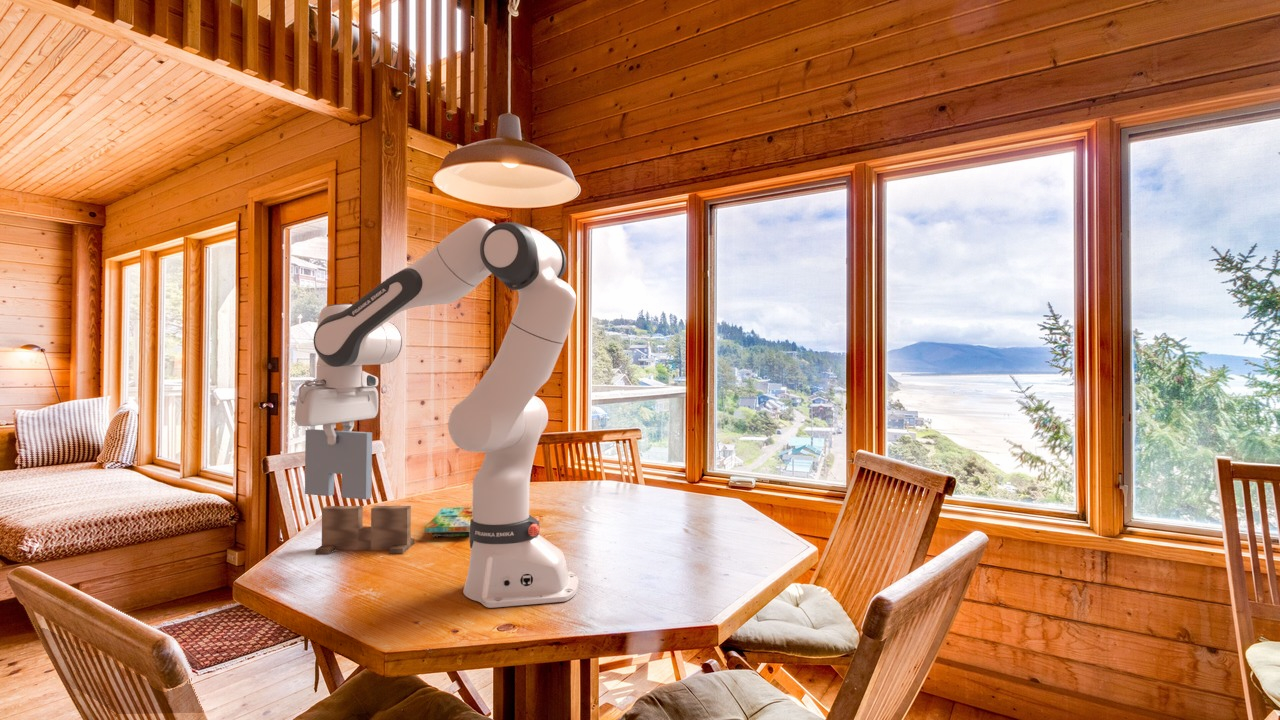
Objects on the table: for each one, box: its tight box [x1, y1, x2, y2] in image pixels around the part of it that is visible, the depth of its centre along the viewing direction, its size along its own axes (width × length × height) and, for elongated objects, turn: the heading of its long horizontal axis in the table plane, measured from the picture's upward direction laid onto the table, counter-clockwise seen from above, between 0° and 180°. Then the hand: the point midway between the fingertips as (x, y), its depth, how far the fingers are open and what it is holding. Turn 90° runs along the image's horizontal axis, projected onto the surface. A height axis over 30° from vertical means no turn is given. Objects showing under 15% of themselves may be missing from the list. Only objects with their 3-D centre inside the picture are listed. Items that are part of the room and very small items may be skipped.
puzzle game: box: [424, 506, 473, 538], centre depth 160 cm, size 12×5×20 cm
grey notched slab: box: [304, 428, 373, 500], centre depth 129 cm, size 16×2×14 cm, turn 74°
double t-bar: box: [315, 505, 415, 555], centre depth 143 cm, size 20×8×10 cm, turn 92°
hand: (338, 443), depth 129 cm, fingers closed on grey notched slab, 2 cm apart
